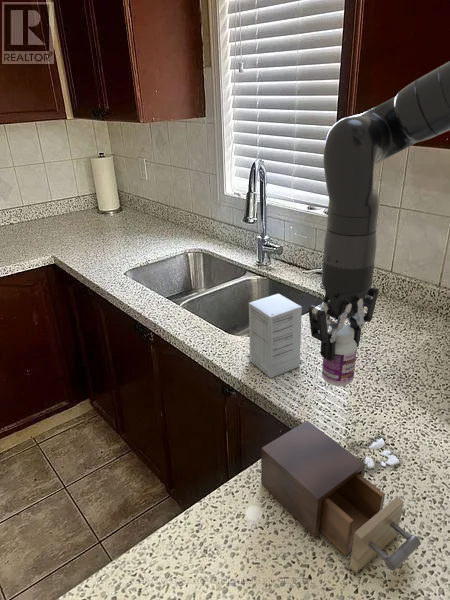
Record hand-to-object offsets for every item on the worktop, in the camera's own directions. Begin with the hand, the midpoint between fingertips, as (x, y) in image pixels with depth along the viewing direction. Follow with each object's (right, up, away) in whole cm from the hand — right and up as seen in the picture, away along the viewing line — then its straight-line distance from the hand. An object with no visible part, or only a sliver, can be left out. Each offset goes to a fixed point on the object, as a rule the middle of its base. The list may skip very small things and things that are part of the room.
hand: (340, 351), depth 75 cm
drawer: (+1, -28, -6) cm, 29 cm away
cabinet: (-5, -25, +2) cm, 26 cm away
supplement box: (-7, -8, +38) cm, 39 cm away
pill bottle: (0, -5, +3) cm, 6 cm away
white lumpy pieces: (+9, -21, +9) cm, 25 cm away
